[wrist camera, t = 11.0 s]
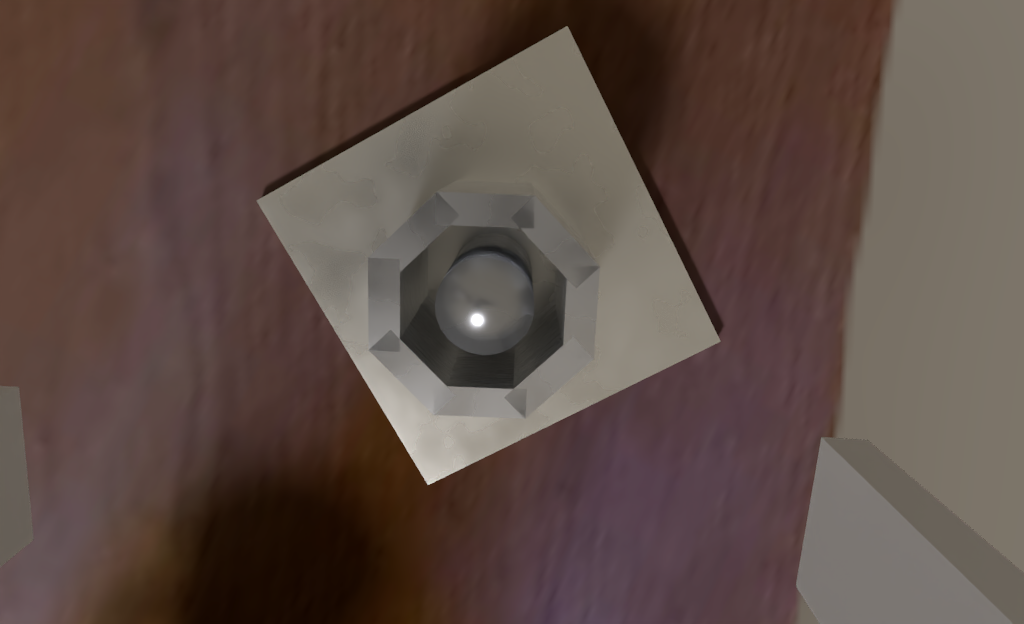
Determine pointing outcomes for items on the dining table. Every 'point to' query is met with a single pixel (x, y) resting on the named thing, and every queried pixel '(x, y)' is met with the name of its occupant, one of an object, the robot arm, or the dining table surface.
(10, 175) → the dining table surface
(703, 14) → the dining table surface
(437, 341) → the grey hollow octagonal block
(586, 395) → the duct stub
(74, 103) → the dining table surface
